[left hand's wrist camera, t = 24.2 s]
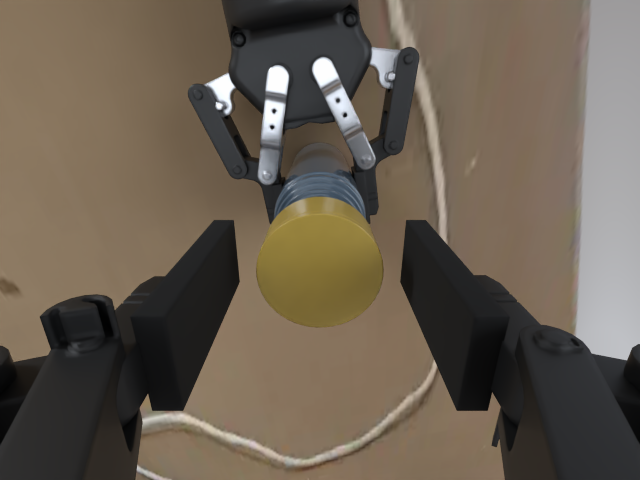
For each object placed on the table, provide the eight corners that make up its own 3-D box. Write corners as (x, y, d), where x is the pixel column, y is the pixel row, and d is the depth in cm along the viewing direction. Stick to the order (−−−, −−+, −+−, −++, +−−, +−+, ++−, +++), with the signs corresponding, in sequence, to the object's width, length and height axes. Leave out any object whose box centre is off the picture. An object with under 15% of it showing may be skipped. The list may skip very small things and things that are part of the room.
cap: (254, 280, 15) (243, 310, 13) (281, 181, 13) (274, 197, 11) (353, 307, 15) (358, 340, 13) (390, 215, 14) (403, 235, 12)
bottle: (300, 203, 31) (276, 330, 14) (285, 150, 29) (238, 220, 12) (352, 191, 30) (393, 306, 14) (341, 136, 29) (371, 189, 12)
